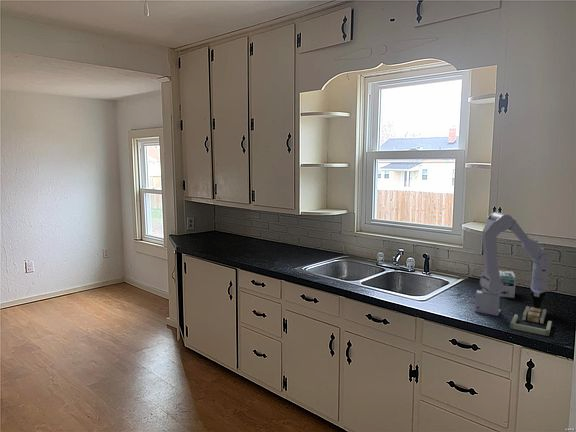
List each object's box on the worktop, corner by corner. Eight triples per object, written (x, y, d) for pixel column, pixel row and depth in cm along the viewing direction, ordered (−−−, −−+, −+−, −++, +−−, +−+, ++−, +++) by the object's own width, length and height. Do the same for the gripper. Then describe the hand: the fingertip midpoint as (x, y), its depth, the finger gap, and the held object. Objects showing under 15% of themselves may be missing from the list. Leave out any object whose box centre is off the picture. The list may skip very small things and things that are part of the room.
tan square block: (528, 316, 185) (529, 309, 184) (530, 313, 188) (530, 307, 187) (539, 318, 182) (540, 311, 182) (540, 315, 186) (541, 309, 185)
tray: (509, 328, 172) (510, 323, 172) (514, 318, 182) (514, 314, 181) (548, 336, 165) (549, 331, 164) (551, 326, 174) (551, 321, 174)
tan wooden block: (527, 320, 180) (527, 314, 179) (528, 317, 183) (529, 311, 183) (538, 323, 178) (538, 316, 177) (539, 320, 181) (539, 313, 180)
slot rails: (522, 319, 180) (522, 314, 180) (526, 311, 190) (526, 305, 190) (543, 324, 176) (543, 318, 176) (545, 314, 186) (546, 309, 185)
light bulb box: (514, 298, 207) (516, 276, 205) (499, 296, 209) (500, 275, 208) (512, 291, 217) (513, 271, 215) (497, 290, 219) (498, 269, 218)
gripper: (548, 283, 180) (545, 314, 182) (551, 275, 192) (548, 304, 194) (529, 281, 184) (527, 311, 186) (533, 273, 196) (531, 301, 198)
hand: (536, 307), depth 190 cm, fingers closed
